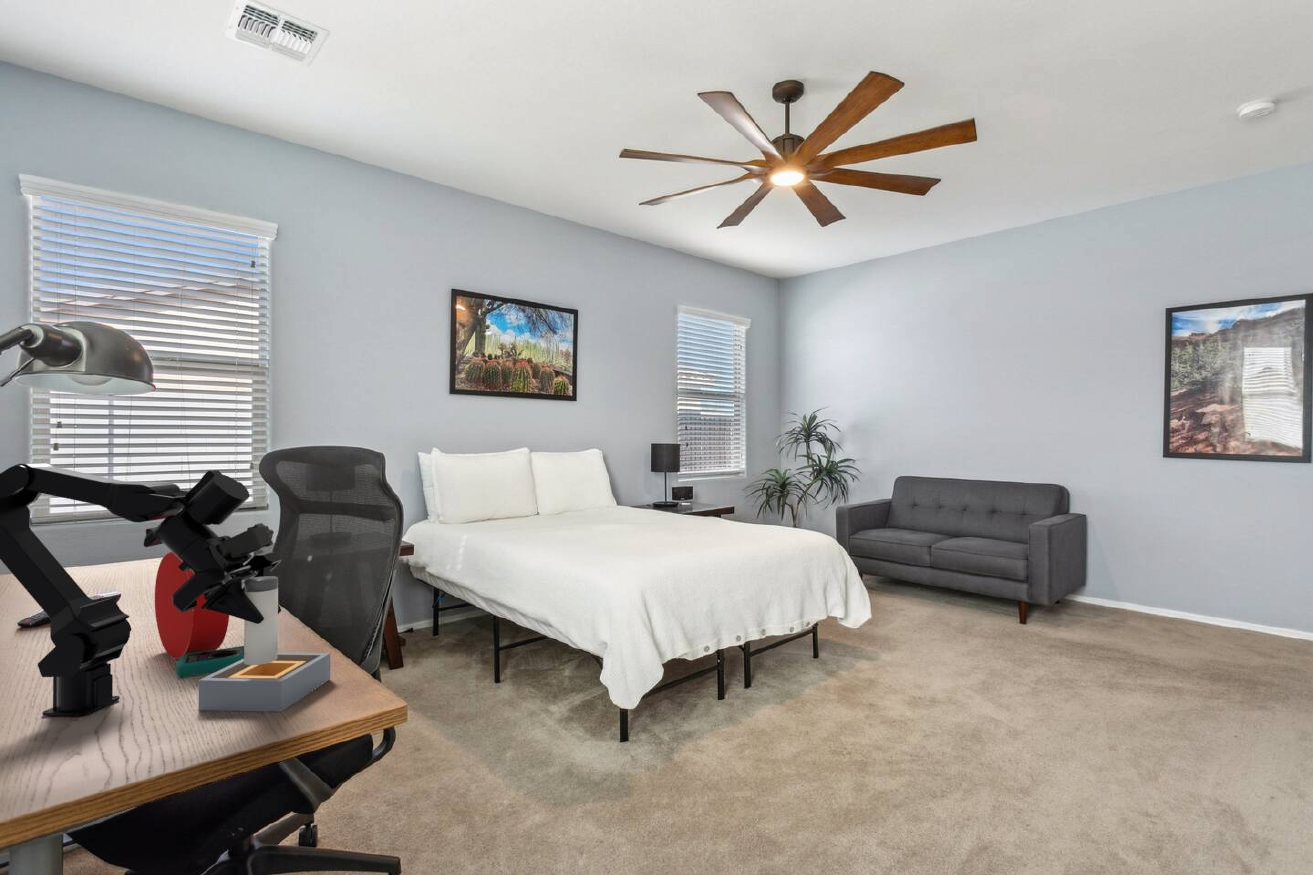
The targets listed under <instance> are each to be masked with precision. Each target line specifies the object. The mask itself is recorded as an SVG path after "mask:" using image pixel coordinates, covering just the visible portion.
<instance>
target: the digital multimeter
mask: <svg viewBox="0 0 1313 875" xmlns="http://www.w3.org/2000/svg"><path fill="white" fill-rule="evenodd" d="M242 659H244V645H241V646H239V645H238V646H234V647H228V648H227V647H226V648H220V649H219V648H218V649H216V650H211V651H203V652H196V653H188V654H185V655H184V656H183V657H182V658H180V659H177V662H176V663H175V664H176V675H177V676H178V678H186V677H193V676H199V675H205V674H213V673H215V672H217V671H219V670H221V669H223V668H225V667H227V666H229V665H231V664H233V663H236V662H238V661H240V660H242Z"/></svg>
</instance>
